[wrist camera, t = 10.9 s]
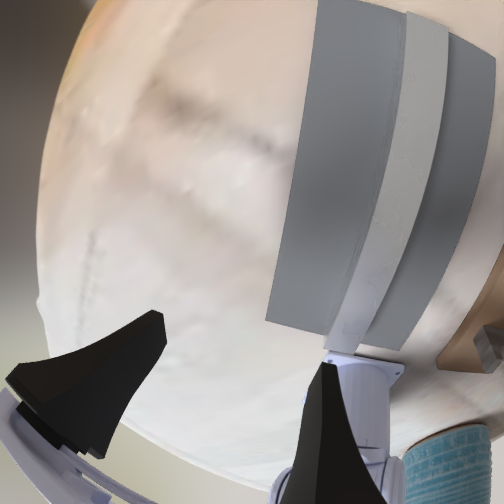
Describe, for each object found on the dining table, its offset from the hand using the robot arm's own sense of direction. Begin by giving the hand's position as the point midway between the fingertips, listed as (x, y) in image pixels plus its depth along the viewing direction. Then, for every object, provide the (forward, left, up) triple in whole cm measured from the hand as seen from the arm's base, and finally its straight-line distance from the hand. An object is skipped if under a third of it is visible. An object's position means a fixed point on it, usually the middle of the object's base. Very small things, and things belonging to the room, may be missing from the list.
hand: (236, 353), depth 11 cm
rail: (+6, -6, -9) cm, 12 cm away
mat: (+6, -6, -9) cm, 13 cm away
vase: (-27, -35, -10) cm, 45 cm away
